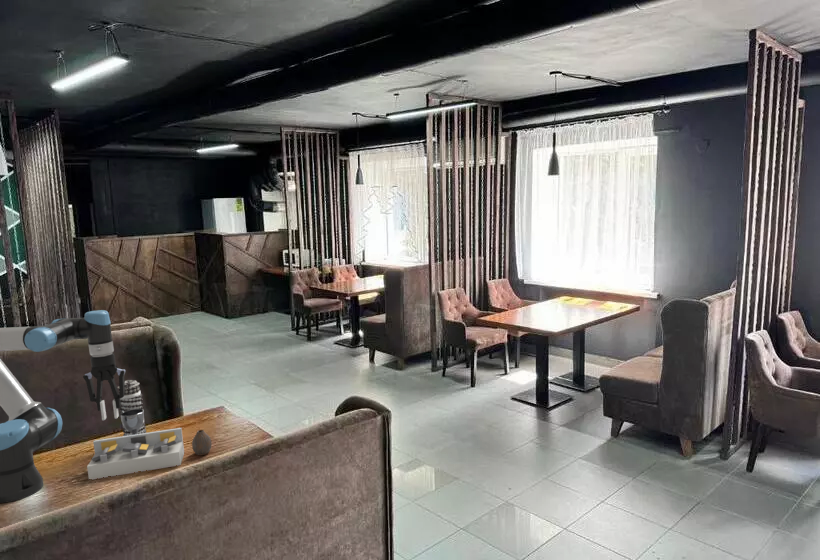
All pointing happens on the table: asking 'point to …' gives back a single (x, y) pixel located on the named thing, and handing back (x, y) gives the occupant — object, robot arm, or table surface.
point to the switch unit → (136, 454)
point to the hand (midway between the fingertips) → (110, 417)
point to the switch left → (106, 452)
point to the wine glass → (132, 420)
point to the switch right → (165, 443)
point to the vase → (201, 443)
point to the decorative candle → (132, 402)
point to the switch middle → (136, 447)
